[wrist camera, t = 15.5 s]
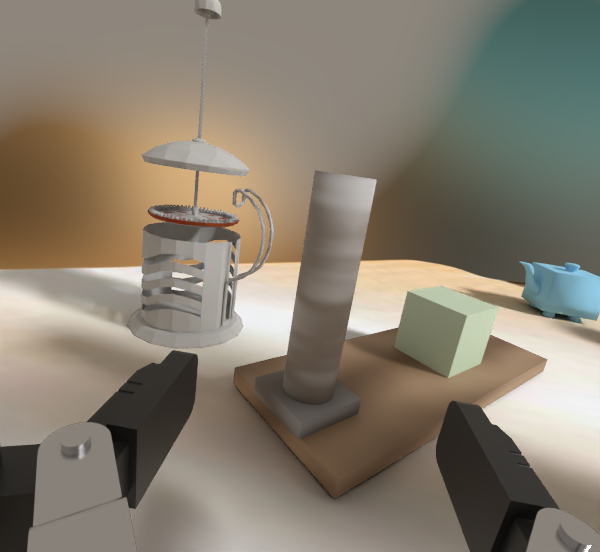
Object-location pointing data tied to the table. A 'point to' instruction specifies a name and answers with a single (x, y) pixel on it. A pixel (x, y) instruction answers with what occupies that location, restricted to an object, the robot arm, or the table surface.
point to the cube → (445, 329)
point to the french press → (193, 247)
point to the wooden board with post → (358, 360)
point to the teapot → (562, 291)
